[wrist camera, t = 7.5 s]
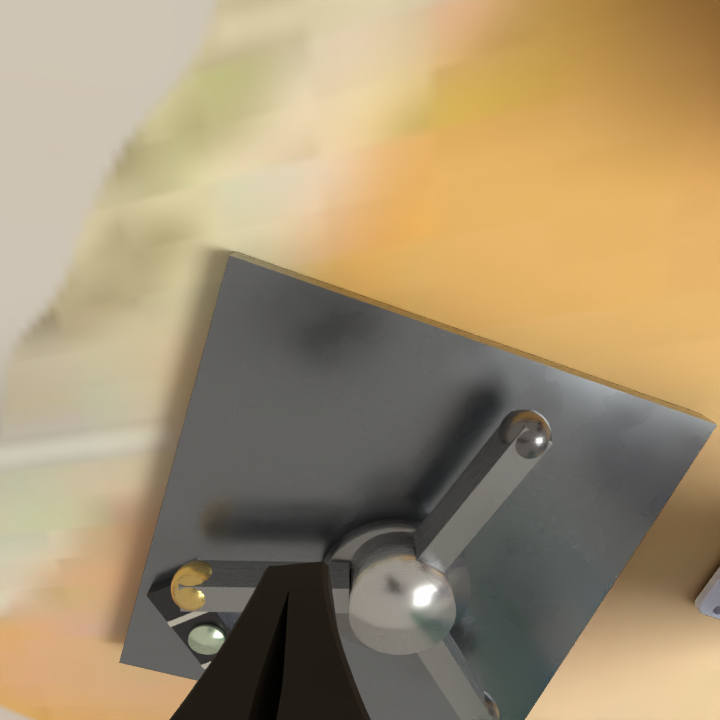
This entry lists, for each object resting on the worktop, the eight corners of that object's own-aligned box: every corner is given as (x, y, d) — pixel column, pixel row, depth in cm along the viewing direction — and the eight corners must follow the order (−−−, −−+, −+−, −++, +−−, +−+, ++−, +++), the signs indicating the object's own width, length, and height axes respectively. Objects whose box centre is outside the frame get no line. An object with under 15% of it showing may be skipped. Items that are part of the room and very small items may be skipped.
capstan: (169, 382, 19) (137, 418, 16) (536, 392, 19) (569, 429, 16) (197, 688, 24) (177, 757, 21) (485, 690, 24) (504, 757, 21)
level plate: (700, 413, 21) (731, 434, 19) (498, 731, 27) (509, 767, 25) (235, 251, 18) (223, 258, 17) (128, 644, 24) (111, 678, 23)
